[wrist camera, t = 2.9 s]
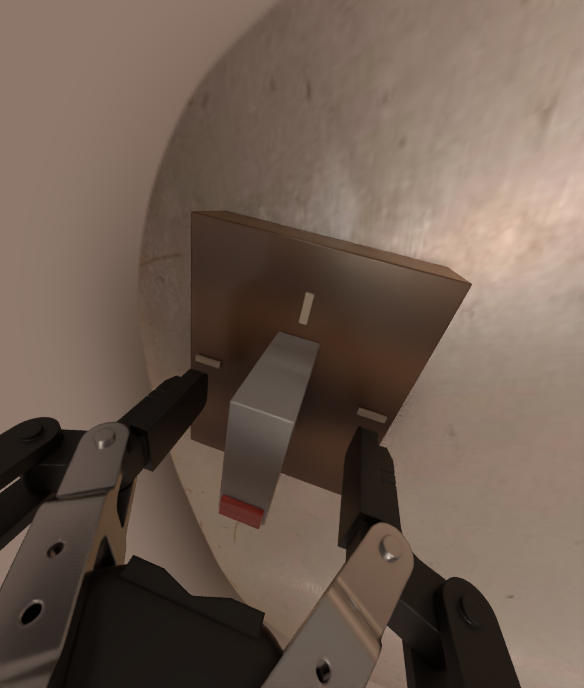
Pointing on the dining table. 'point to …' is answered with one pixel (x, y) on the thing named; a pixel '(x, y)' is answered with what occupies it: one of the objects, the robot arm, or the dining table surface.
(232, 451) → the tap handle
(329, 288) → the panel
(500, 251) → the dining table surface
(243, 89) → the dining table surface
